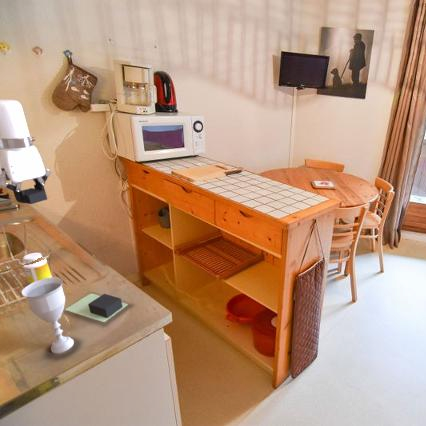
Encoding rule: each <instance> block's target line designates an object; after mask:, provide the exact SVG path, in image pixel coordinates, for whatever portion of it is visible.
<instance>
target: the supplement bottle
mask: <svg viewBox="0 0 426 426" xmlns="http://www.w3.org/2000/svg"><path fill="white" fill-rule="evenodd" d="M41 257H42V258H43V256H42V253H41V252H31V253H28V254H26V255H24V256H23V261H24V262H23V263H22V265H24V264H26V263H30V262H32V261H35V260H37V259H38V258H41ZM22 269H23V272H24V275H25V278H26V281H27V283H28V285H30V284H31V283H33V282H36V281H38V280H41V279H45V278H51V277H53V276H52V273H51V270H50V266H49V264H48V261H47V258H45V259H44V260H41V261H39V262H36V263H33V264H29V265H24V266H22Z"/></svg>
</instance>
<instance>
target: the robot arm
mask: <svg viewBox="0 0 426 426" xmlns="http://www.w3.org/2000/svg"><path fill="white" fill-rule="evenodd" d="M35 141H36V138H35V137H34V136H31V134H30V131H29V127H28V123H27V120H26V116H25V112H24V109H23V106H22V104H21V103H20V102H19V101H18V100H15V99H3V98H2V99H1V98H0V186H1V187H3V188H6V189H8V190H10V191H12V192H13V196H14V199H15V201H16V202H17V203H20V204H28V203H27V200H26V197H25V193H24V191H22V182H25V181H30V180H32V182H34V184H33V189H38V190H43V191H45V192H46V189H45V185H46V181H47V180H48V178H49V177H50V176H51V174H52V171H51V170H50V169H48V168H47V167H45V166H44V163H43V159H42V157H41V155H40V152H39V151H38V148H37V147H36V146H35V145H33V142H35ZM8 181H9V183H8Z"/></svg>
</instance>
